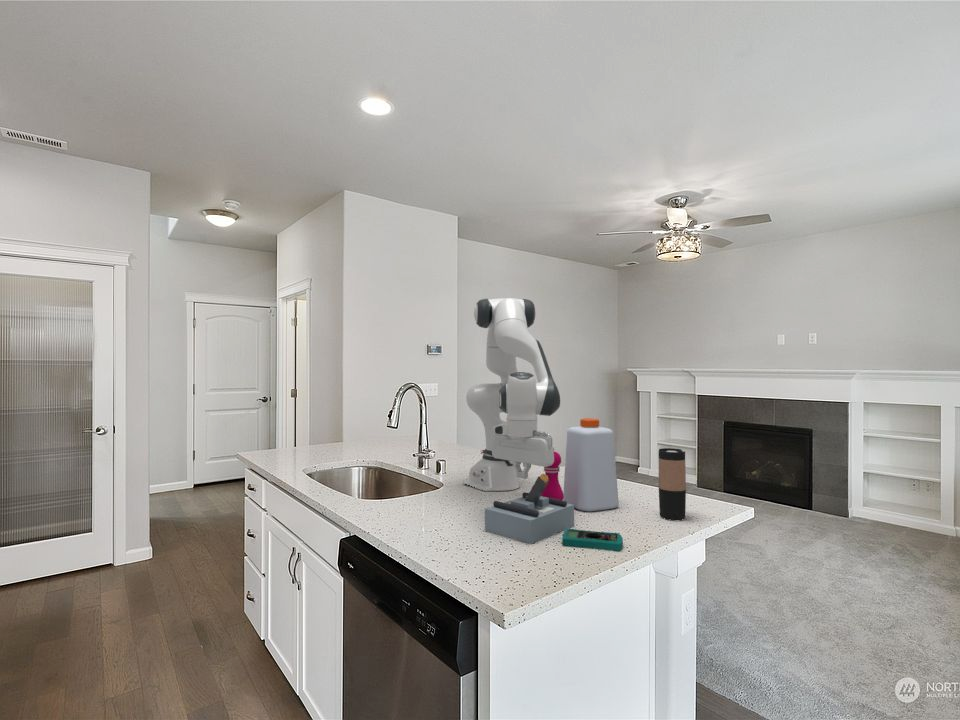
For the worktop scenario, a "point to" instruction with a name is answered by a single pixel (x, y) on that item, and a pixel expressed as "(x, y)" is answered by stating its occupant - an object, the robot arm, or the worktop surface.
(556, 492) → the pepper mill
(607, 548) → the digital multimeter
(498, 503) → the dark parallel rails
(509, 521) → the box
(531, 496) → the breaker lever
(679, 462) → the travel mug
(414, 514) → the worktop surface
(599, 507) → the plastic bottle
